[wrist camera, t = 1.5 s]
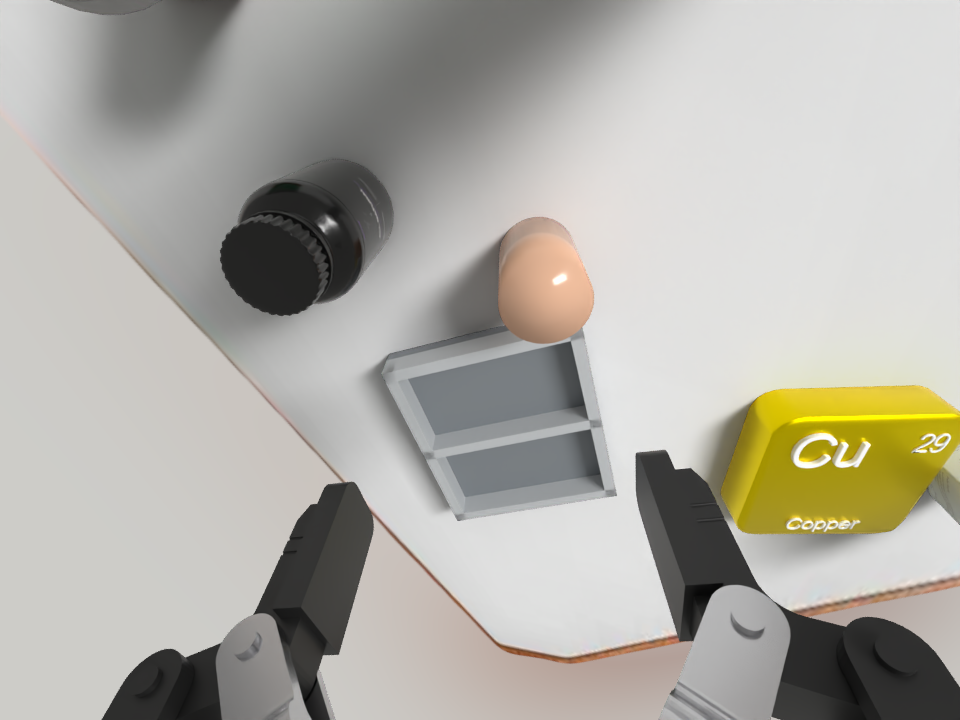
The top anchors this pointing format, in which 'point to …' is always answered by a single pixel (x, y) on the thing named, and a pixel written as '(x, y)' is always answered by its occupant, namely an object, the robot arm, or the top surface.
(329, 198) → the supplement bottle
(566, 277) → the peach rounded capsule
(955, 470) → the skincare box
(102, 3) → the food container
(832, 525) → the element tile
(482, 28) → the top surface
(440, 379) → the rack
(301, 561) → the robot arm
